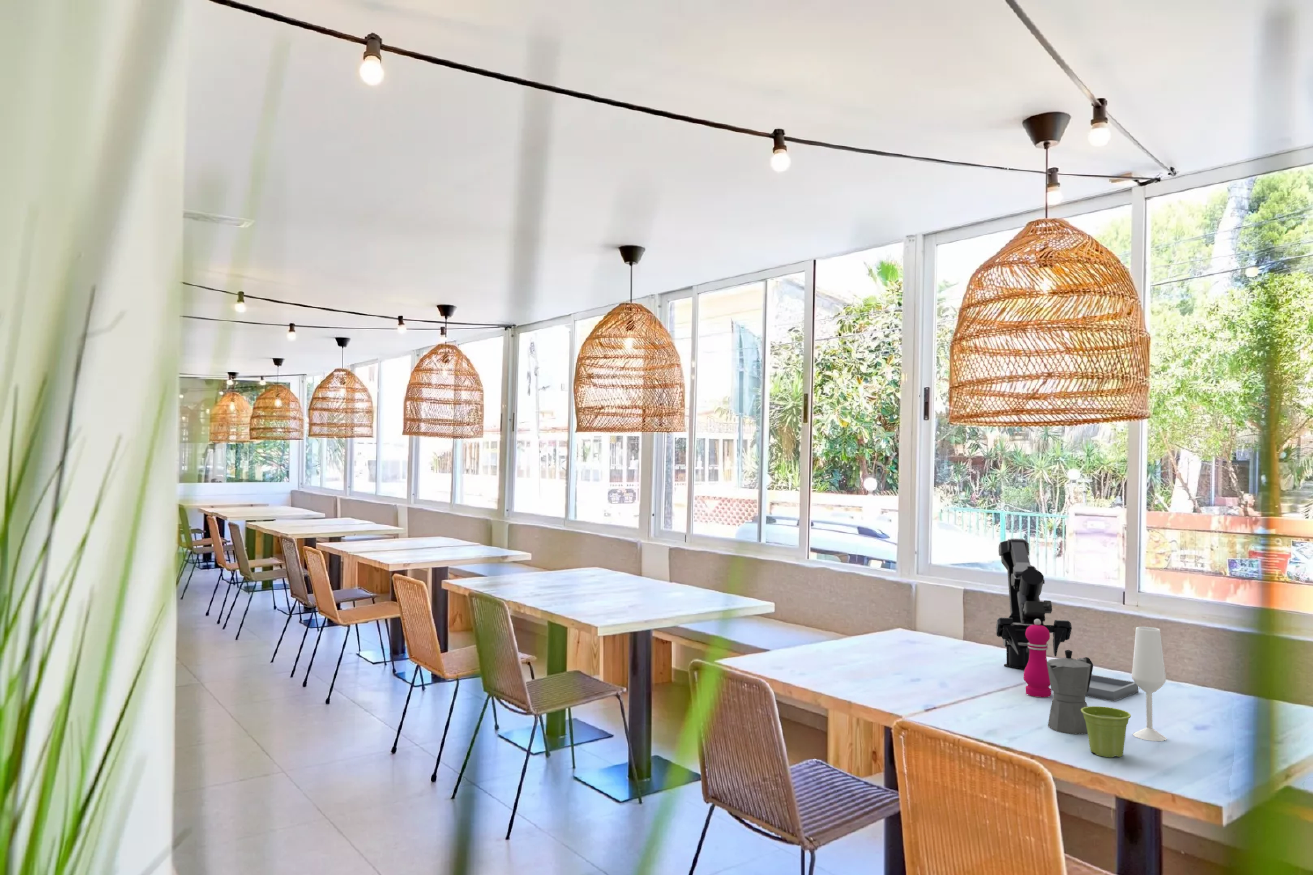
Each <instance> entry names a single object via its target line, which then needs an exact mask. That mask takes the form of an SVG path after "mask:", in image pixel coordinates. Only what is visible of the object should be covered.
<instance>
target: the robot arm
mask: <svg viewBox="0 0 1313 875" xmlns="http://www.w3.org/2000/svg"><path fill="white" fill-rule="evenodd" d="M998 556H999V557H1000V561H1001V564H1002V565H1003V567H1004V568H1005V569H1006V570H1007V581H1008V582H1007V584H1008V597H1009V599H1008V600H1009V612H1010V614H1009V616H1008V617H1001V616H999V617H998V618H997V619H996V626H995V632H996V633H995V634H996V637H998V638H1001V639H1002V645H1003V646H1004V648H1005V647H1006V648H1005V649H1006V650H1005V651H1006V652H1005V653H1006V663H1004V664H1003V666H1004V667H1007V666H1008V667H1007V668H1012V669H1013V668H1014V669H1018V668H1021V669H1020V670H1025V668H1026V666H1027V663H1028V661H1029V655H1030V652H1029V648H1028V642H1029V641H1028V639H1027V638H1026V635H1025V633H1026V629H1027V628H1028V627H1029V626H1031V625H1035V624H1034V620H1035V619H1039V620H1040V621H1041V624H1040V625H1042V626H1045V627H1046V628H1047V629H1048V630H1049V633H1050V634H1052V638H1053V639H1052V648H1053V656H1054V657H1057V656H1058V655H1057V654H1058V650H1059V647H1060V644H1061V643H1064V642H1065V641H1068V640H1070V638H1071V633H1072V629H1073V628H1072V622H1070V620H1067V619H1066V620H1064V619H1054V623H1053V624H1045V623H1044V622H1045V621H1046V614H1052V612H1053V604H1052V600H1046V599H1045V600H1043V601H1041V600H1040V599H1041V598H1040V596H1041V594H1042V590H1043V585H1044V584H1045V578H1044V574H1043V573H1042V572H1041V571H1039V570H1037V567H1035V566H1034V565H1031V562H1030V559H1029V558H1030V557H1029V556H1030V544H1029V542H1028V541H1027V540H1026V539H1023V538H1010V539H1009V538H1008V539H1007V540H1005V541H1001V542H999V544H998Z"/></svg>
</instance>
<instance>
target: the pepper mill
mask: <svg viewBox="0 0 1313 875" xmlns="http://www.w3.org/2000/svg"><path fill="white" fill-rule="evenodd" d="M1034 624H1035V625H1031V626H1029V627H1028V628H1027V629H1026V633H1025V635H1026V638H1027V639H1028V641H1029V642H1028V648H1029V652H1030V655H1029V661H1028V663H1027V666H1026V668H1025V669H1023V670H1024V671H1023V680H1024V682H1025V684H1026V685H1025V694H1026V695H1027V694H1028V695H1027V696H1031V697H1033V698H1034V697H1036V698H1050V697H1051V696H1052V690H1051V685H1050V679H1049V673H1048V667H1047V662H1048V659H1047V650H1048V649H1049V647H1048V646H1049V644H1048V643H1047V642H1049V640H1050V638H1051V635H1050V634H1051V633H1049V630H1048V629H1047V628H1046V627H1045V626H1042V625H1040V624H1041V621H1040V620H1039V619H1035V620H1034Z"/></svg>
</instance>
